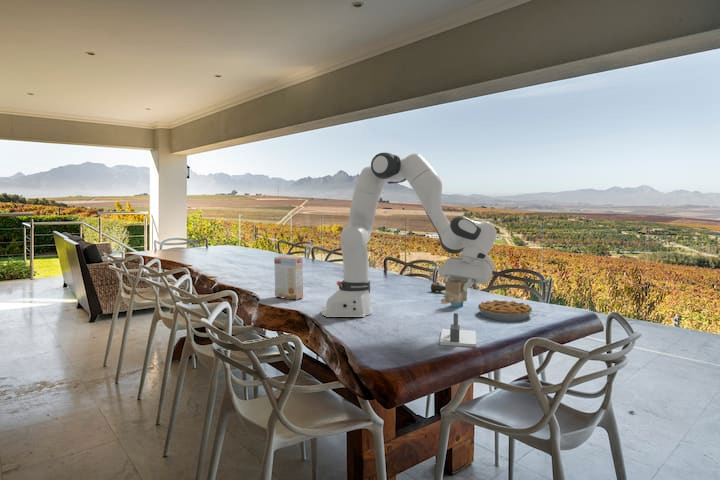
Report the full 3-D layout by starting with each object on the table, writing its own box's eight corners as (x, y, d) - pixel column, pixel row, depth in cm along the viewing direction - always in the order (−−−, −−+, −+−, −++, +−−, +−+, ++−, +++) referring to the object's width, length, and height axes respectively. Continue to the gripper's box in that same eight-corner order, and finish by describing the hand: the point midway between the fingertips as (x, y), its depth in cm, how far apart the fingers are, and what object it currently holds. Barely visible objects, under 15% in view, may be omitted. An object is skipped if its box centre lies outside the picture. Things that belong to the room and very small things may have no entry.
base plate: (442, 331, 170) (442, 328, 169) (475, 333, 167) (475, 330, 167) (439, 344, 154) (439, 341, 154) (476, 347, 151) (476, 344, 151)
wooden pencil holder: (454, 298, 167) (454, 279, 167) (466, 300, 163) (467, 281, 163) (436, 302, 160) (436, 283, 160) (448, 305, 156) (449, 285, 156)
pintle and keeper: (451, 334, 166) (451, 312, 165) (459, 335, 165) (460, 313, 164) (450, 344, 154) (450, 321, 153) (459, 345, 153) (459, 321, 153)
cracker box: (303, 298, 228) (303, 257, 227) (295, 300, 223) (295, 258, 222) (282, 295, 236) (281, 255, 234) (274, 297, 231) (273, 256, 229)
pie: (494, 307, 209) (494, 296, 209) (541, 315, 193) (541, 303, 193) (468, 315, 194) (468, 304, 193) (516, 325, 178) (516, 312, 178)
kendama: (436, 291, 249) (471, 294, 237) (428, 294, 241) (463, 297, 229) (436, 280, 249) (470, 282, 236) (427, 283, 241) (462, 286, 229)
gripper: (445, 251, 174) (428, 279, 169) (492, 256, 159) (475, 287, 153) (452, 262, 178) (436, 290, 172) (498, 267, 162) (482, 298, 157)
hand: (455, 288), depth 163 cm, fingers closed on wooden pencil holder, 5 cm apart
